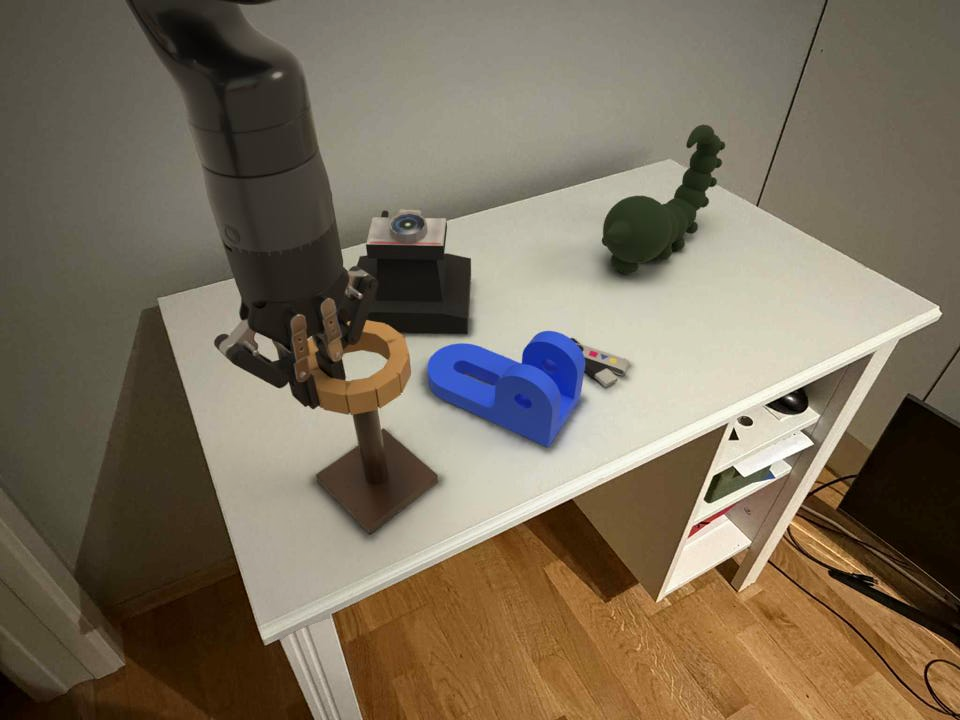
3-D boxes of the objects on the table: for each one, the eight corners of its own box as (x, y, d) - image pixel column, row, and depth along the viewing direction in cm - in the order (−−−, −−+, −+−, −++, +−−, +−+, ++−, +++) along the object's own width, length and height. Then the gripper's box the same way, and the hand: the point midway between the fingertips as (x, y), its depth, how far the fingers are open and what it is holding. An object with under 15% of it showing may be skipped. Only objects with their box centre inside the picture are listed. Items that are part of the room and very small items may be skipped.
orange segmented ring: (346, 431, 51) (342, 412, 50) (283, 374, 56) (277, 354, 54) (431, 374, 56) (430, 354, 54) (366, 326, 61) (363, 306, 59)
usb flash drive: (558, 348, 82) (559, 342, 81) (590, 333, 84) (591, 328, 83) (603, 389, 77) (604, 383, 76) (635, 372, 79) (637, 366, 78)
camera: (329, 252, 74) (350, 179, 84) (349, 336, 85) (365, 263, 95) (465, 254, 74) (470, 180, 84) (467, 339, 85) (472, 265, 95)
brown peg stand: (370, 535, 62) (353, 458, 54) (317, 481, 67) (294, 402, 59) (438, 481, 67) (432, 403, 59) (384, 434, 72) (372, 355, 63)
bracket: (579, 400, 75) (588, 344, 69) (548, 447, 70) (555, 391, 64) (452, 347, 82) (450, 291, 76) (414, 386, 77) (409, 330, 71)
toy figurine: (662, 223, 107) (569, 273, 93) (694, 108, 95) (592, 146, 81) (712, 245, 102) (622, 301, 88) (752, 127, 90) (655, 171, 76)
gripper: (329, 162, 47) (359, 336, 59) (150, 234, 40) (225, 415, 52) (393, 198, 44) (412, 377, 56) (208, 284, 37) (275, 467, 49)
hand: (321, 394), depth 54 cm, fingers closed on orange segmented ring, 1 cm apart
